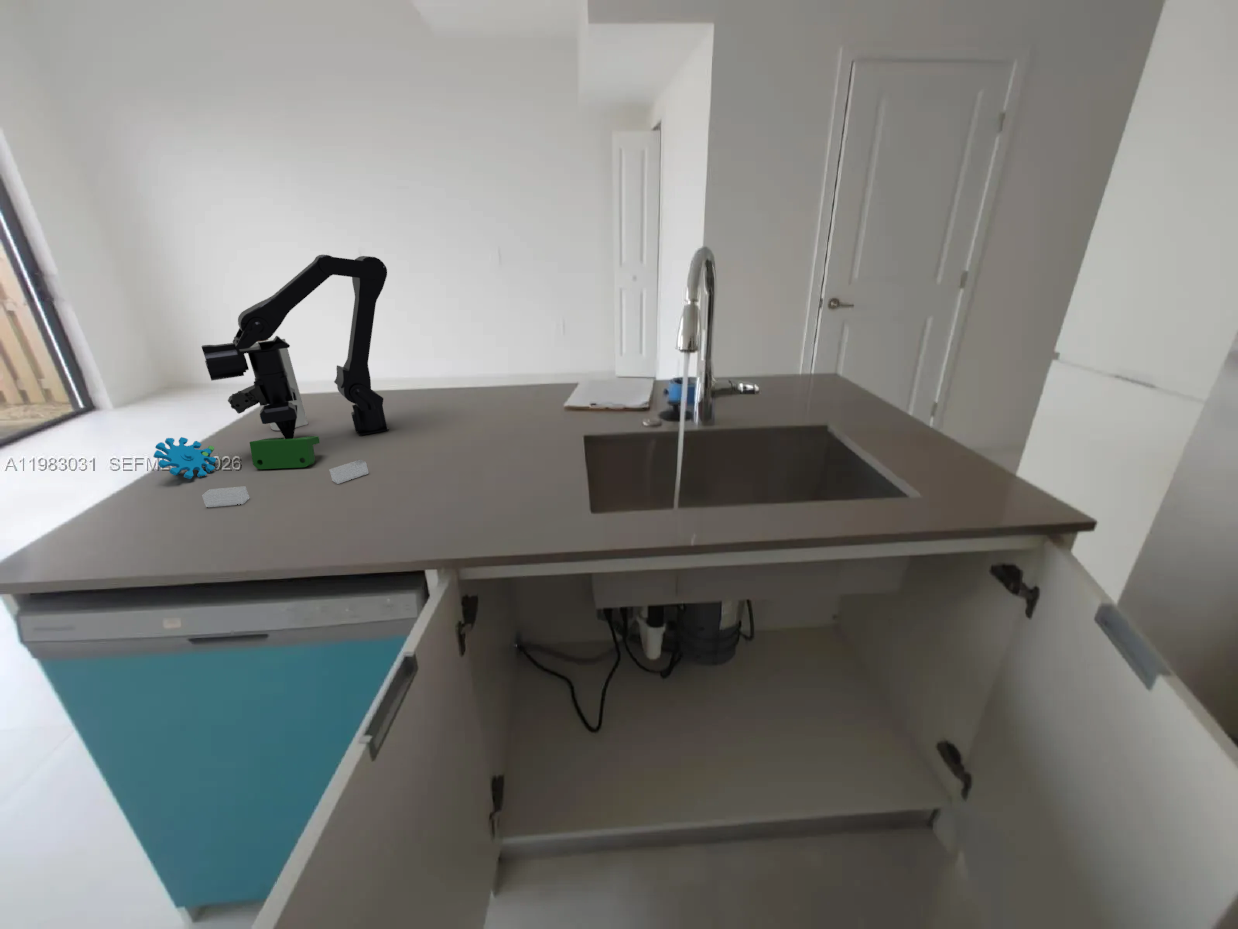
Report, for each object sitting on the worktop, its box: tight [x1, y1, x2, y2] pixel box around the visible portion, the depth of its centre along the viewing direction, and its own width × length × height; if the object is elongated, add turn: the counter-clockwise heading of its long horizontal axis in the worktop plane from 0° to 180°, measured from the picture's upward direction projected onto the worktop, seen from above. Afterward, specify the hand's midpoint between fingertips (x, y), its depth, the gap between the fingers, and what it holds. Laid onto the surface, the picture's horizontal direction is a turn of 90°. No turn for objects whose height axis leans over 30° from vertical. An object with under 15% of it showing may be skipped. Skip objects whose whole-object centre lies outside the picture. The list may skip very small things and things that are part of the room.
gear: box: [153, 436, 217, 480], centre depth 109 cm, size 11×6×10 cm
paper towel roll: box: [250, 337, 309, 431], centre depth 130 cm, size 7×6×21 cm
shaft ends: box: [201, 459, 369, 508], centre depth 101 cm, size 26×4×2 cm, turn 119°
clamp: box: [249, 435, 320, 470], centre depth 112 cm, size 12×6×9 cm, turn 88°
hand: (290, 441), depth 121 cm, fingers closed
